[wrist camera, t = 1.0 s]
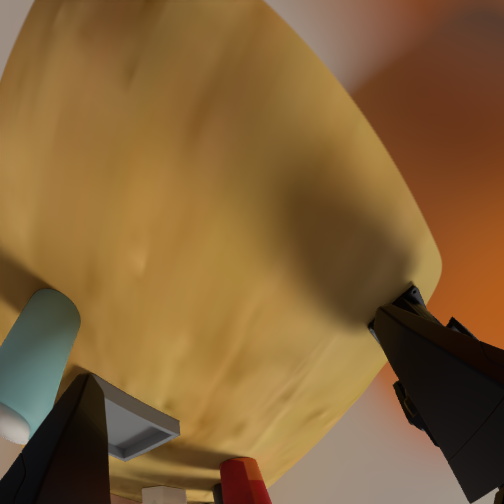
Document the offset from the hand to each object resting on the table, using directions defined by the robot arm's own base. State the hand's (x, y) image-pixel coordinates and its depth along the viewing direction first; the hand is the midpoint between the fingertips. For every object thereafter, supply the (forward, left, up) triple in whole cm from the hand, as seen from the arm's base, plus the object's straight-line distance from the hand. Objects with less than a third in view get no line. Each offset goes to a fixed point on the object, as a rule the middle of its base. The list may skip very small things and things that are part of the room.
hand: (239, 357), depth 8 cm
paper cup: (-30, +23, -14) cm, 40 cm away
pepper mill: (+3, +15, -13) cm, 20 cm away
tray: (-9, +24, -13) cm, 29 cm away
